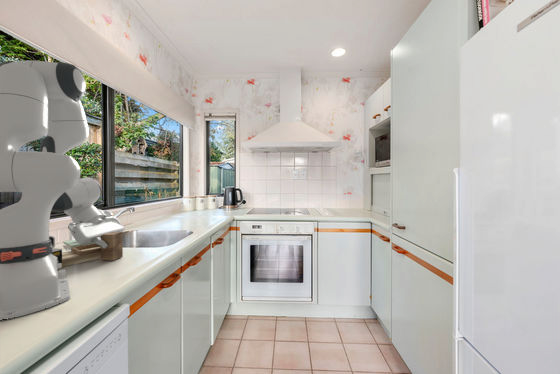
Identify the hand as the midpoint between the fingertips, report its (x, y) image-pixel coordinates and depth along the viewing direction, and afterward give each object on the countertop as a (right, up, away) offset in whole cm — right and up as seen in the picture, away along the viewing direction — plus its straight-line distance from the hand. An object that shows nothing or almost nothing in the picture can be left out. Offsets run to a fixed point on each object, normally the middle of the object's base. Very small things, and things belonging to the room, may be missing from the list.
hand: (113, 244), depth 99 cm
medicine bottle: (-17, -7, -11) cm, 21 cm away
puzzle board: (-13, -6, +1) cm, 14 cm away
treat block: (-1, -5, 0) cm, 5 cm away
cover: (-20, -1, +10) cm, 22 cm away
